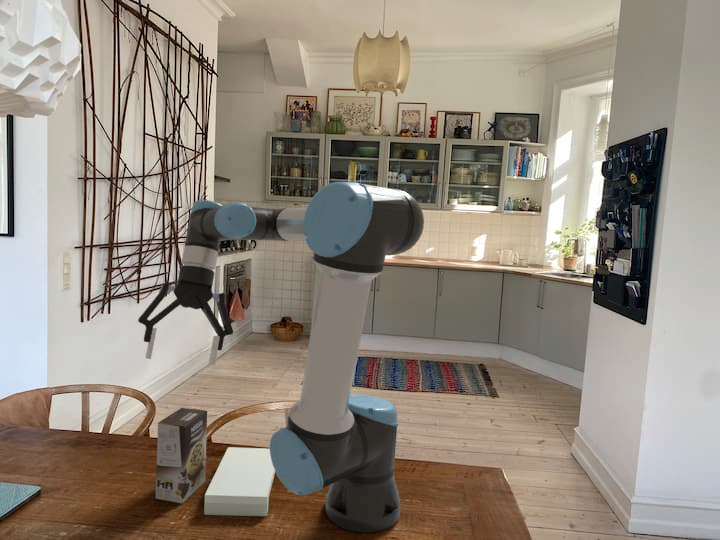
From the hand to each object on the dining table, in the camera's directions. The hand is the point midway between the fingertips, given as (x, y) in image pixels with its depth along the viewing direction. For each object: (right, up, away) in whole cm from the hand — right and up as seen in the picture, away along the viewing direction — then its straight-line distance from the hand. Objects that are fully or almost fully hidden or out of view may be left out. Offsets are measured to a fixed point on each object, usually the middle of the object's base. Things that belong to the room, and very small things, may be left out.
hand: (180, 361), depth 106 cm
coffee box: (+2, -26, -5) cm, 27 cm away
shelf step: (+15, -27, -2) cm, 30 cm away
